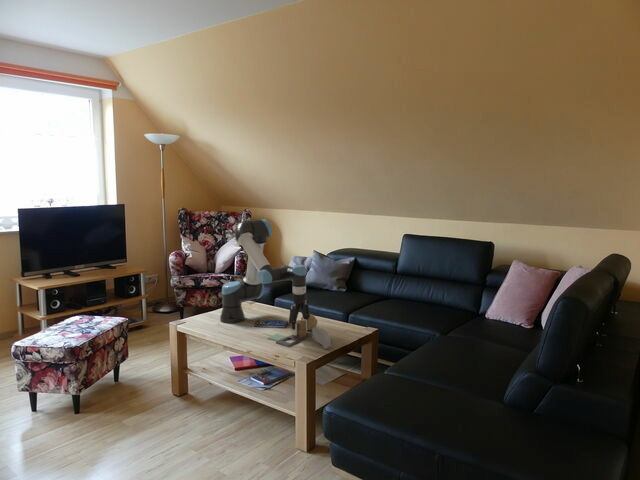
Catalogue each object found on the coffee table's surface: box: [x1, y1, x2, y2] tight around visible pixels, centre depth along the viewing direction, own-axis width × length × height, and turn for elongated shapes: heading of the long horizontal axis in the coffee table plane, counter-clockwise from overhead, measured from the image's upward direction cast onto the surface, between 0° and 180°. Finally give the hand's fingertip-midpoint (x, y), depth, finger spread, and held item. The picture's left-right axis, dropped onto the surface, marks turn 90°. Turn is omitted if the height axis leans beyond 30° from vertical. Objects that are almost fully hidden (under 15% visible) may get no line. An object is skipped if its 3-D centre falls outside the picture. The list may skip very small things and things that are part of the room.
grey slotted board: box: [275, 331, 313, 348], centre depth 267 cm, size 9×22×1 cm, turn 143°
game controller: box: [311, 326, 332, 350], centre depth 258 cm, size 20×2×8 cm, turn 26°
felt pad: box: [266, 333, 289, 342], centre depth 269 cm, size 8×8×1 cm
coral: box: [300, 313, 318, 331], centre depth 284 cm, size 10×10×10 cm
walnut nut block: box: [294, 319, 307, 338], centre depth 270 cm, size 5×5×9 cm
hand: (299, 332), depth 270 cm, fingers open, 8 cm apart
